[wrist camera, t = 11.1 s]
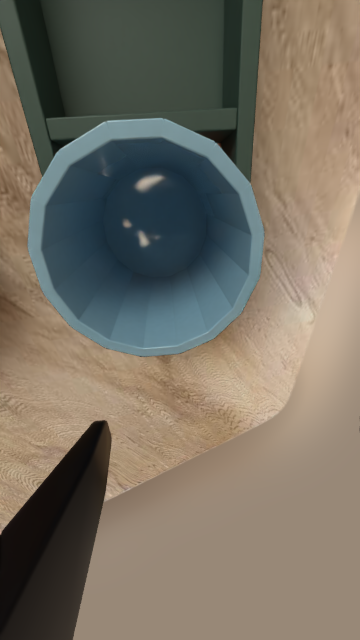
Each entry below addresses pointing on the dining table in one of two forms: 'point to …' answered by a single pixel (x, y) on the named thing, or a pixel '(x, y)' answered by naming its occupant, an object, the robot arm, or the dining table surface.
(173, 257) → the blue cup
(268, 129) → the dining table surface
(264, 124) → the dining table surface
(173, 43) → the cup rack
